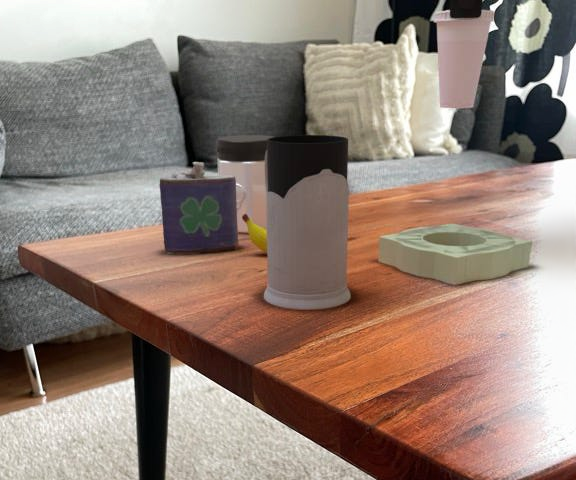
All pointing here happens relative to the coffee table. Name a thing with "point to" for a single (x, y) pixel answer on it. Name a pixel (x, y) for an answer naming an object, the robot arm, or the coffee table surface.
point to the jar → (246, 175)
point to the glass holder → (307, 221)
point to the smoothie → (460, 56)
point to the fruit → (256, 234)
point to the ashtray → (454, 253)
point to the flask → (199, 212)
